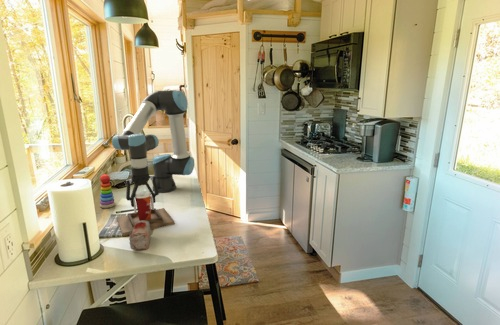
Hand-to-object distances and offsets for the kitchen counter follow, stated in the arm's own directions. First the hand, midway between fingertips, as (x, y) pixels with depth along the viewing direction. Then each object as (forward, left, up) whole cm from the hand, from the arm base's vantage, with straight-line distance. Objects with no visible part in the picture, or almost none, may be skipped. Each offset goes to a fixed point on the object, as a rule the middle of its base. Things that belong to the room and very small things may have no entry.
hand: (144, 210), depth 150 cm
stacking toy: (+14, -34, -6) cm, 37 cm away
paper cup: (0, 0, -5) cm, 5 cm away
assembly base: (0, 0, -6) cm, 6 cm away
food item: (+6, +22, -7) cm, 24 cm away
